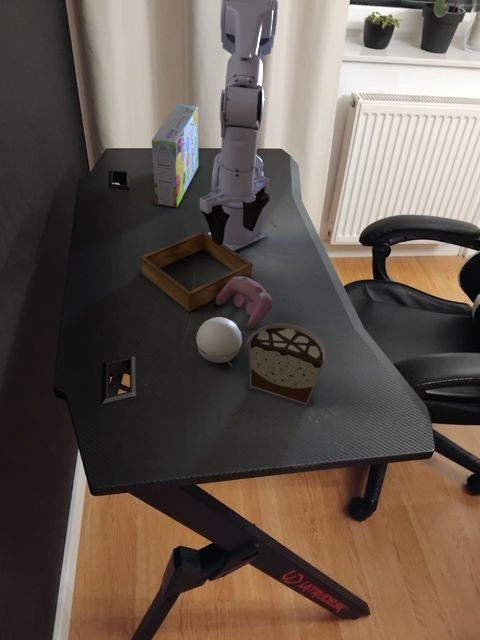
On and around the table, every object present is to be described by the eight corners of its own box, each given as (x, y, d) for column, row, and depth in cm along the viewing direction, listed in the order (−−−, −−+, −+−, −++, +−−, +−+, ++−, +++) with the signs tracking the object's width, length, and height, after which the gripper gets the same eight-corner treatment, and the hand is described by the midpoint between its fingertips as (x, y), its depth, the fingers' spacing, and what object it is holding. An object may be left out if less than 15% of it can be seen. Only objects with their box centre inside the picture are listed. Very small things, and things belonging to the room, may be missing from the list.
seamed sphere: (192, 342, 95) (193, 308, 90) (236, 340, 96) (239, 306, 91) (199, 386, 88) (199, 352, 83) (246, 383, 89) (250, 349, 84)
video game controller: (264, 330, 101) (280, 295, 98) (249, 331, 97) (265, 295, 95) (227, 303, 106) (241, 269, 103) (211, 302, 102) (225, 268, 99)
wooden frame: (203, 247, 116) (203, 230, 113) (251, 280, 109) (253, 263, 106) (141, 273, 107) (139, 256, 104) (189, 311, 100) (189, 294, 98)
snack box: (177, 164, 141) (176, 102, 131) (199, 167, 141) (200, 105, 131) (153, 205, 126) (150, 138, 116) (178, 209, 126) (177, 142, 115)
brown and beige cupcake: (326, 381, 91) (337, 335, 84) (316, 408, 87) (327, 361, 80) (254, 359, 93) (260, 312, 86) (241, 384, 89) (245, 336, 82)
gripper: (221, 185, 87) (217, 259, 97) (285, 162, 95) (276, 232, 105) (191, 168, 91) (191, 240, 100) (256, 147, 99) (250, 216, 108)
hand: (233, 235), depth 102 cm, fingers open, 7 cm apart
